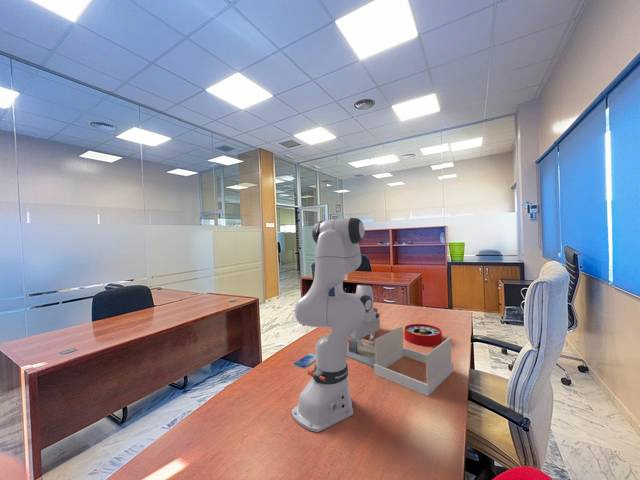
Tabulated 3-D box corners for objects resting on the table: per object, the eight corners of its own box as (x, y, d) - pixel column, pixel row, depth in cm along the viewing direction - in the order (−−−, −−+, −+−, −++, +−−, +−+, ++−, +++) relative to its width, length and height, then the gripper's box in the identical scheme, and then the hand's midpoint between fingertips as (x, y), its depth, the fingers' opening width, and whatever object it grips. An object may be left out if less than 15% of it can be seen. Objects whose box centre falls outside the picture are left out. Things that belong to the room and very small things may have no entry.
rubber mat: (377, 369, 120) (377, 367, 120) (338, 353, 137) (338, 352, 137) (396, 357, 131) (396, 356, 131) (357, 344, 148) (357, 343, 148)
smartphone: (322, 355, 135) (304, 368, 122) (322, 357, 135) (304, 370, 122) (311, 352, 139) (292, 363, 127) (311, 353, 139) (292, 365, 127)
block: (378, 362, 125) (377, 349, 125) (348, 351, 138) (348, 339, 138) (385, 357, 130) (385, 345, 130) (356, 347, 143) (356, 336, 143)
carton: (427, 396, 99) (426, 356, 99) (374, 373, 116) (373, 339, 116) (453, 371, 116) (452, 337, 116) (402, 354, 133) (402, 325, 133)
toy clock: (410, 336, 143) (400, 324, 163) (410, 347, 143) (400, 333, 163) (447, 335, 142) (433, 323, 162) (448, 346, 142) (433, 333, 162)
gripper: (357, 322, 125) (357, 351, 125) (381, 313, 139) (382, 339, 139) (346, 319, 129) (347, 347, 129) (371, 311, 143) (372, 336, 143)
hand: (365, 343), depth 134 cm, fingers open, 8 cm apart
